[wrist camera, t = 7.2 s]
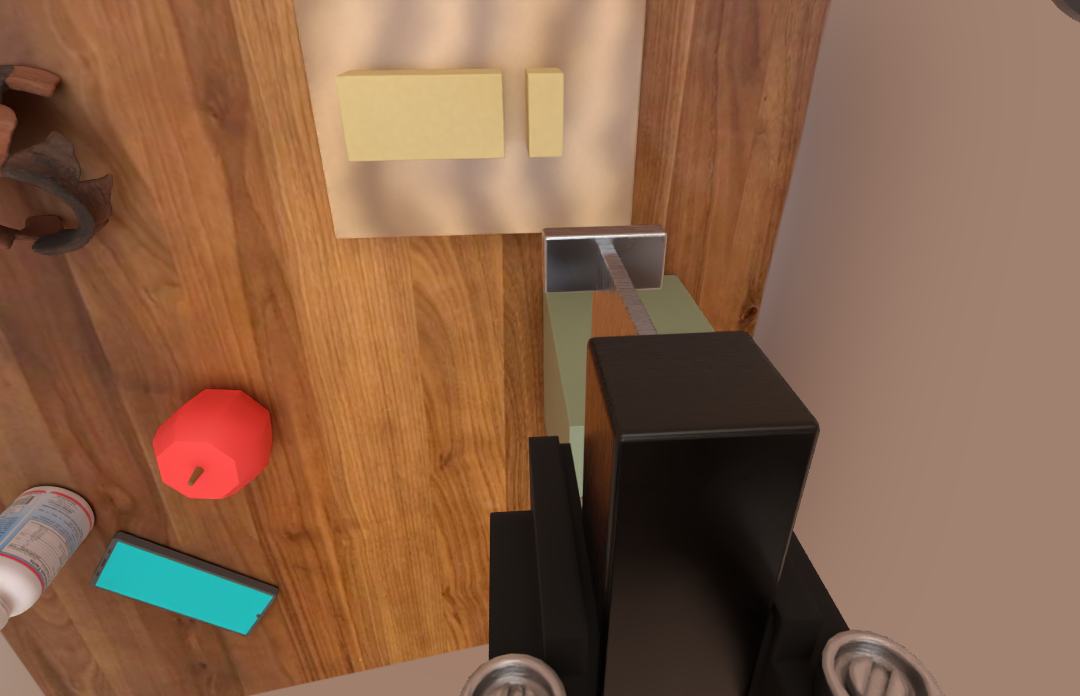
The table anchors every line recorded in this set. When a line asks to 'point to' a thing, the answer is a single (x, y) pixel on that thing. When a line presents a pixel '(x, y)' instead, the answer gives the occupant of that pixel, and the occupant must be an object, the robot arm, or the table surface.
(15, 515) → the pill bottle
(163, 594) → the smartphone
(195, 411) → the apple
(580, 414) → the stand
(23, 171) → the broken pottery vessel
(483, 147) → the butter stick
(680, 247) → the table surface
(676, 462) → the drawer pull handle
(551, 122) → the butter slice
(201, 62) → the table surface
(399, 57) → the board
